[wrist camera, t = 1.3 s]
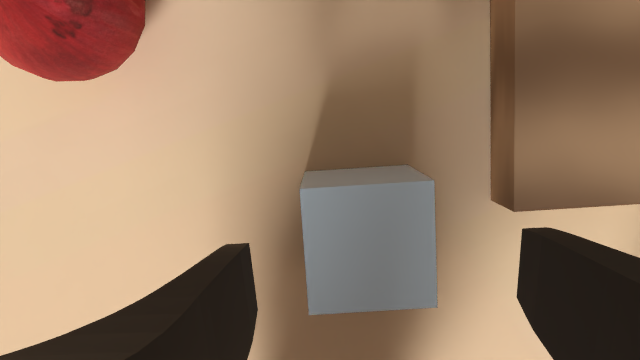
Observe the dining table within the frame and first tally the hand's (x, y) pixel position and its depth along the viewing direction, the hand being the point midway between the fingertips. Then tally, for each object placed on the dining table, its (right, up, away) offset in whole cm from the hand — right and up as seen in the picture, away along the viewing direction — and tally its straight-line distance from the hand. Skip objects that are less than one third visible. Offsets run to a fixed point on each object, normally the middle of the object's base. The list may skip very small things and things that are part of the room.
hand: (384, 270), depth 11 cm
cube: (0, +1, +10) cm, 10 cm away
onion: (-11, +10, +8) cm, 17 cm away
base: (+12, +7, +9) cm, 16 cm away
